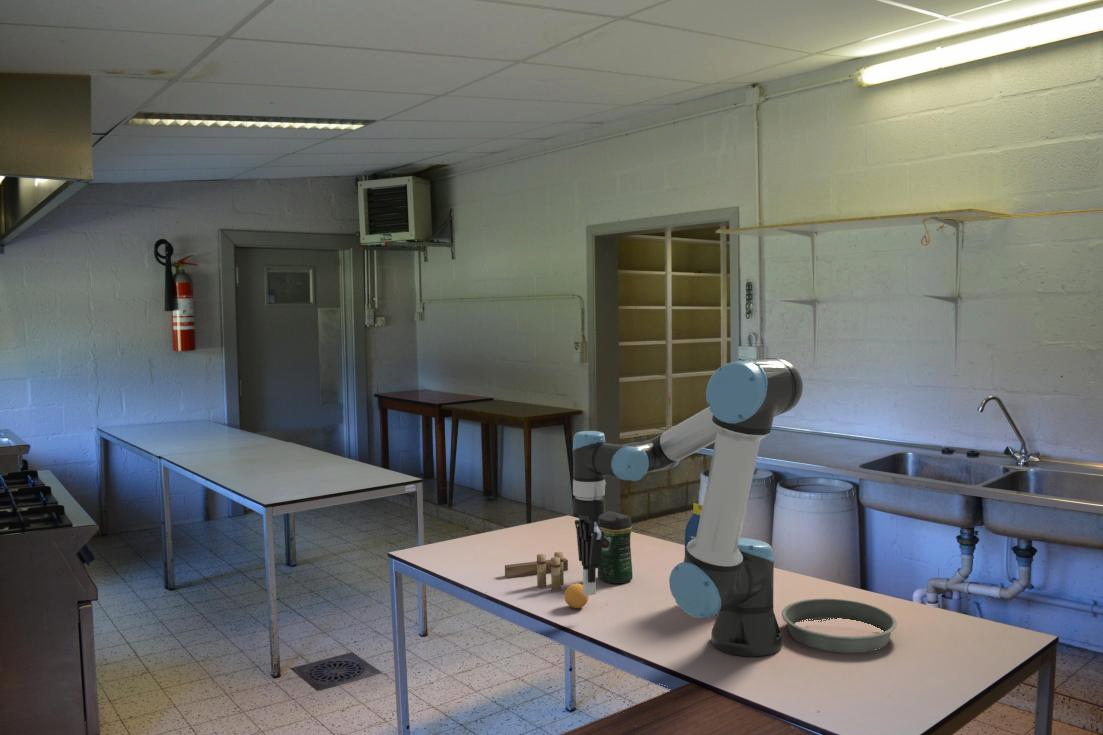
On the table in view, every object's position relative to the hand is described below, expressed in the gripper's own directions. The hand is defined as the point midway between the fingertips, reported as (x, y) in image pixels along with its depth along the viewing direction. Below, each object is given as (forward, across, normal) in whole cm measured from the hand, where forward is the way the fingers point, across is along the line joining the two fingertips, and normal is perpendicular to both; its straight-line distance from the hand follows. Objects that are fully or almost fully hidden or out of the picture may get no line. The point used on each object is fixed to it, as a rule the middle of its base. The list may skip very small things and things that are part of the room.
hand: (589, 593), depth 205 cm
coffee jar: (+7, +26, -18) cm, 32 cm away
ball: (+3, +9, 0) cm, 10 cm away
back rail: (+7, +40, 0) cm, 41 cm away
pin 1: (+7, +28, +2) cm, 29 cm away
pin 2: (+7, +28, -3) cm, 29 cm away
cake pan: (+6, -30, -48) cm, 57 cm away
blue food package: (+6, -3, -31) cm, 32 cm away
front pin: (+7, +24, 0) cm, 25 cm away
